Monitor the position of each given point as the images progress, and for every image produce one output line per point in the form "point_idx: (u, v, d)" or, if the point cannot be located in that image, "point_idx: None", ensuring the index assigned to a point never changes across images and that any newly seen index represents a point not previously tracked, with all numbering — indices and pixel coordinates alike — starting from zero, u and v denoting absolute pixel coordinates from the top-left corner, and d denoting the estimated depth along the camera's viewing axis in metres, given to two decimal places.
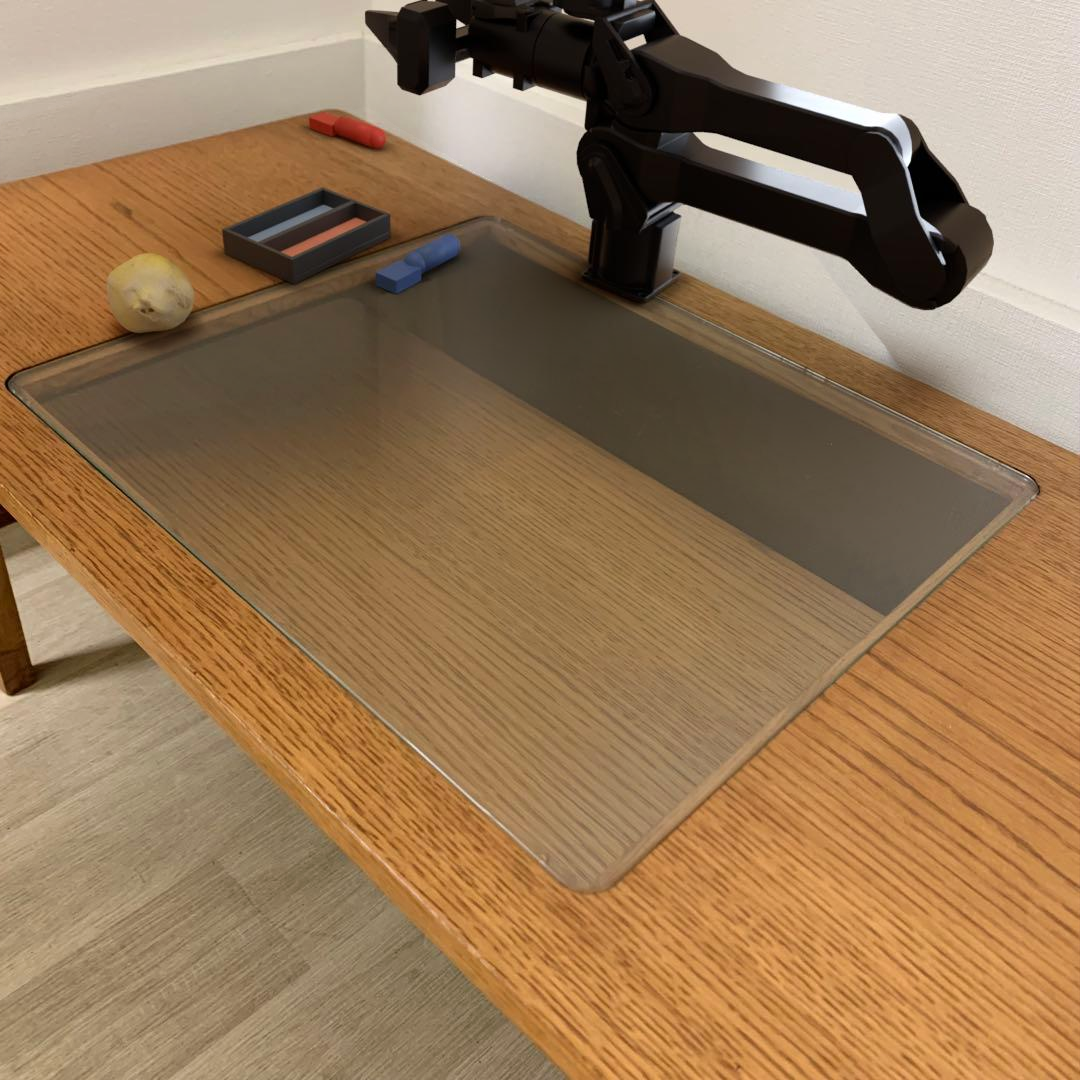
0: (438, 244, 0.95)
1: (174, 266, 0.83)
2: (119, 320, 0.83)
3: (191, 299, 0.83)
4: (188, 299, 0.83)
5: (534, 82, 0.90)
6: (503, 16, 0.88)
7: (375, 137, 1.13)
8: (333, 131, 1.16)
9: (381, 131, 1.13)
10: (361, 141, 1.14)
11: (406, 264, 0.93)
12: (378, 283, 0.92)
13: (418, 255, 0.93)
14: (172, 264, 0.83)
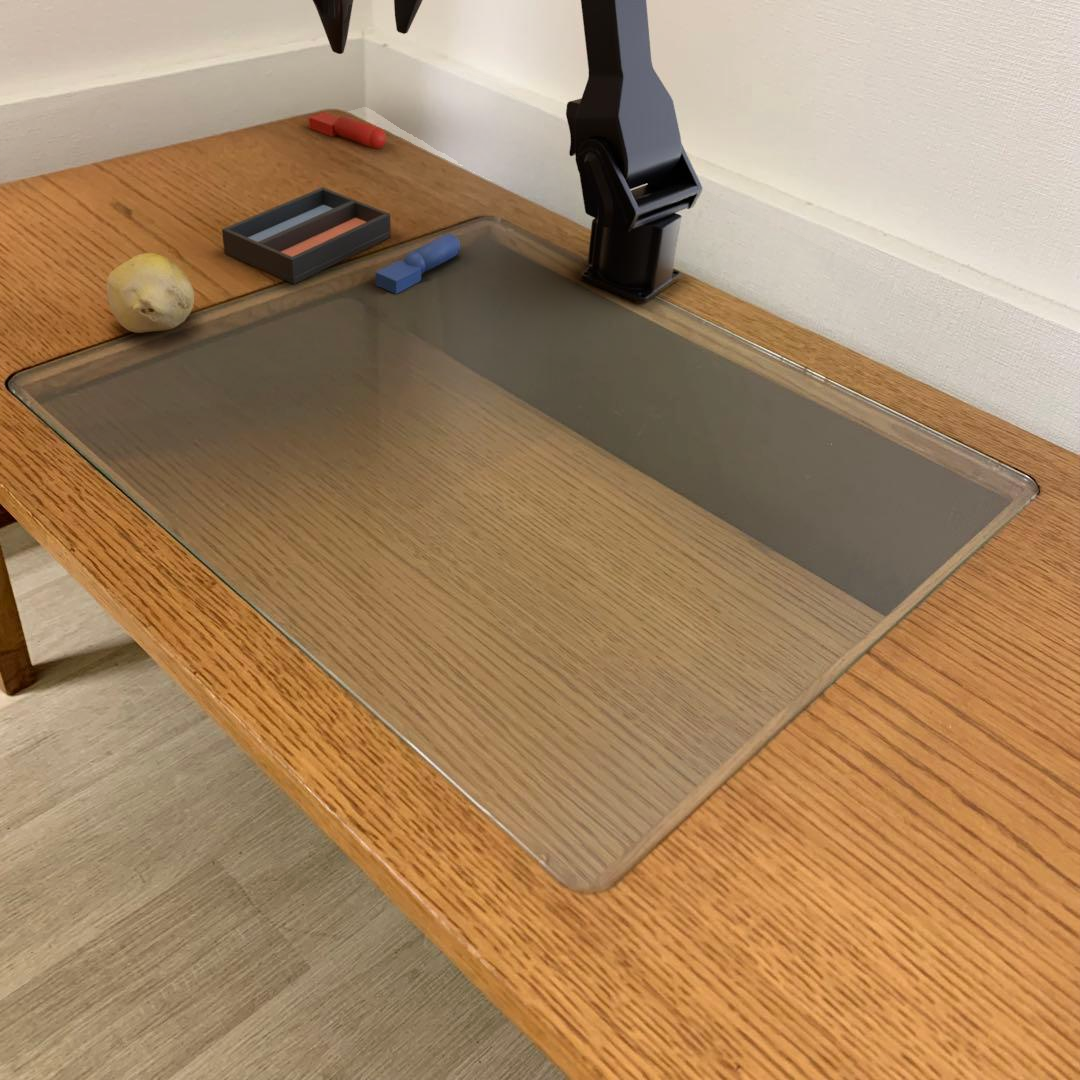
0: (438, 244, 0.95)
1: (174, 266, 0.83)
2: (119, 320, 0.83)
3: (191, 299, 0.83)
4: (188, 299, 0.83)
5: None
6: None
7: (375, 137, 1.13)
8: (333, 131, 1.16)
9: (381, 131, 1.13)
10: (361, 141, 1.14)
11: (406, 264, 0.93)
12: (378, 283, 0.92)
13: (418, 255, 0.93)
14: (172, 264, 0.83)
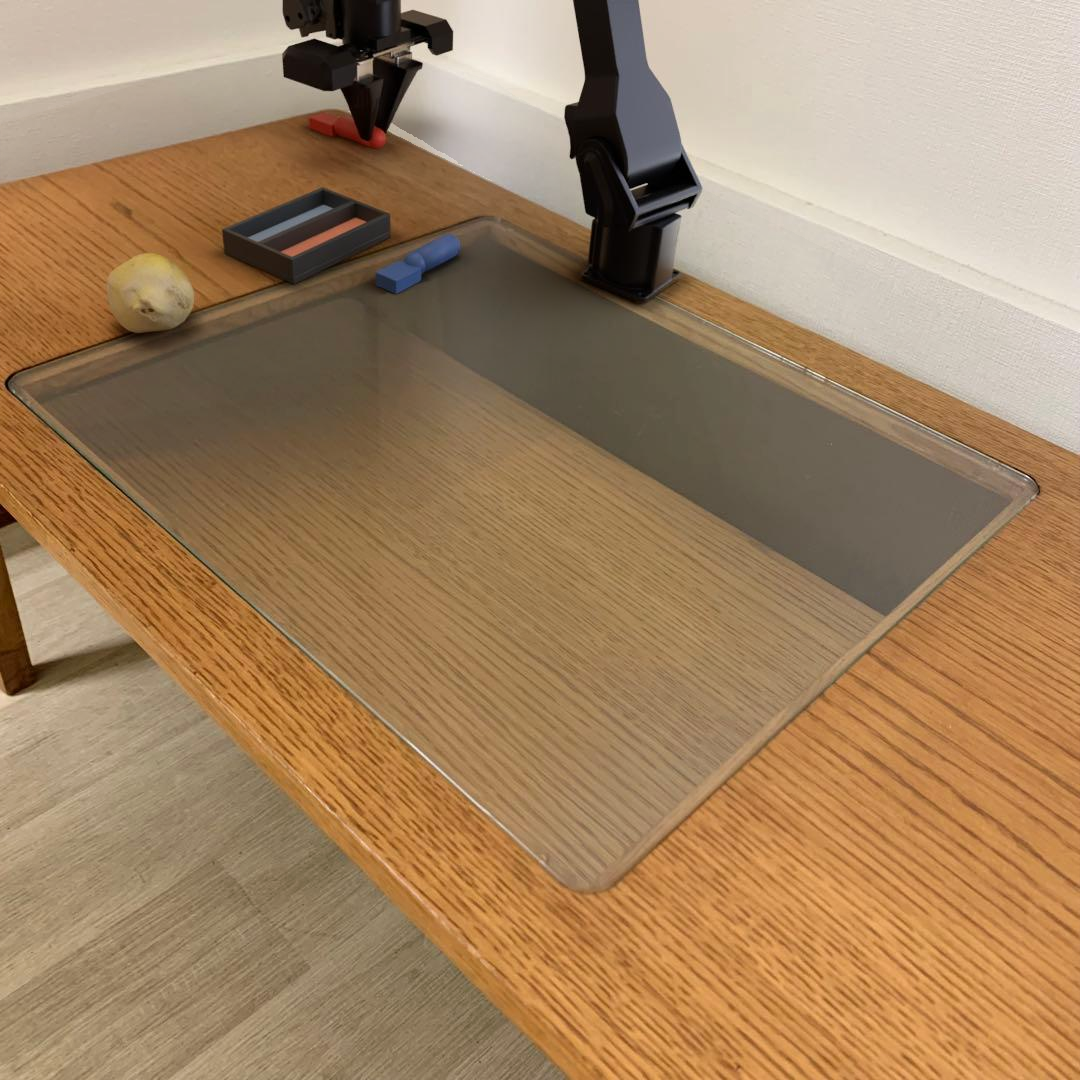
0: (438, 244, 0.95)
1: (174, 266, 0.83)
2: (119, 320, 0.83)
3: (191, 299, 0.83)
4: (188, 299, 0.83)
5: None
6: (331, 4, 1.05)
7: (375, 137, 1.13)
8: (333, 131, 1.16)
9: (380, 131, 1.13)
10: (361, 141, 1.14)
11: (406, 264, 0.93)
12: (378, 283, 0.92)
13: (418, 255, 0.93)
14: (172, 264, 0.83)
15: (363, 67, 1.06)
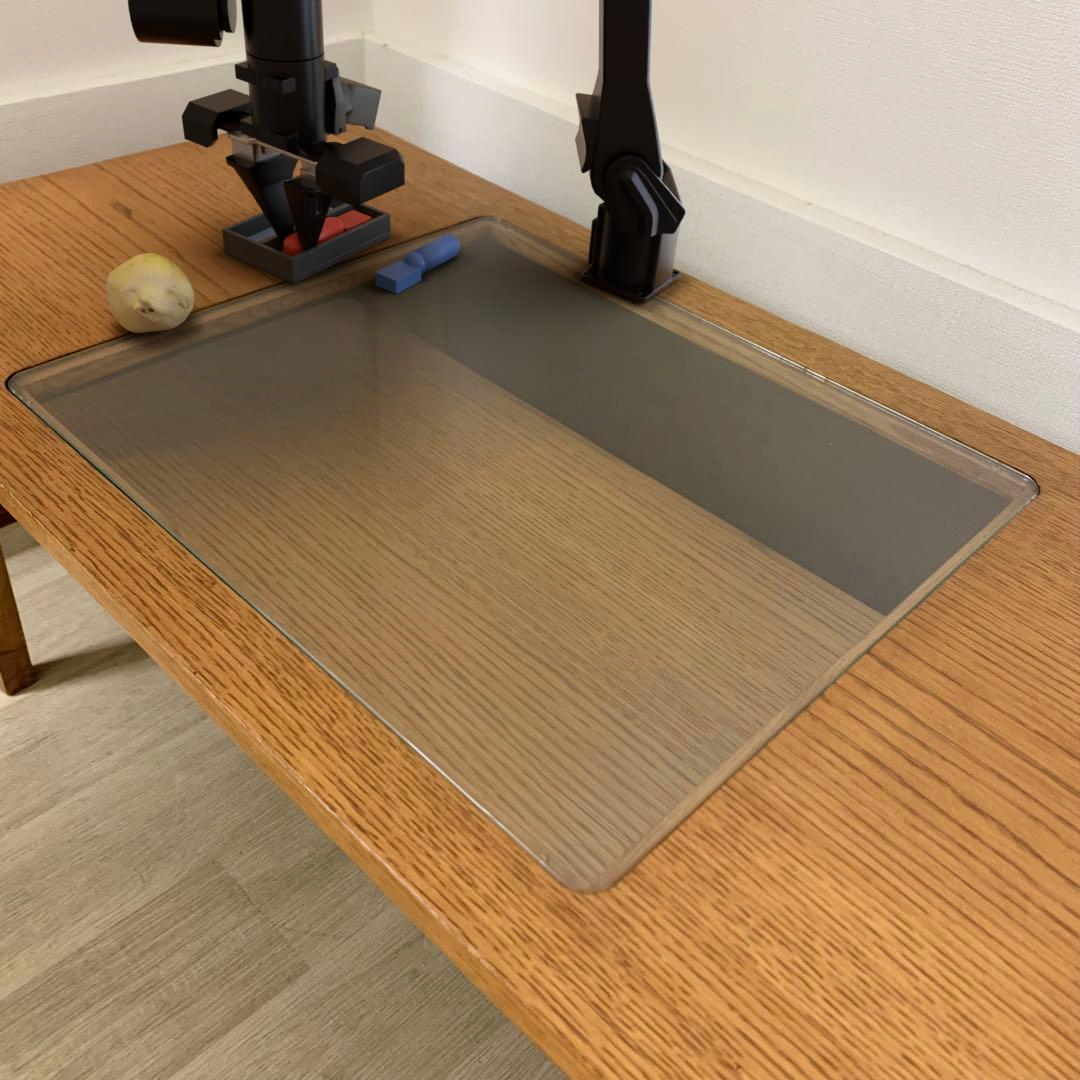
0: (438, 244, 0.95)
1: (174, 266, 0.83)
2: (119, 320, 0.83)
3: (191, 299, 0.83)
4: (188, 299, 0.83)
5: None
6: None
7: (284, 240, 0.93)
8: None
9: (290, 239, 0.92)
10: None
11: (406, 264, 0.93)
12: (378, 283, 0.92)
13: (418, 255, 0.93)
14: (172, 264, 0.83)
15: (238, 144, 0.88)
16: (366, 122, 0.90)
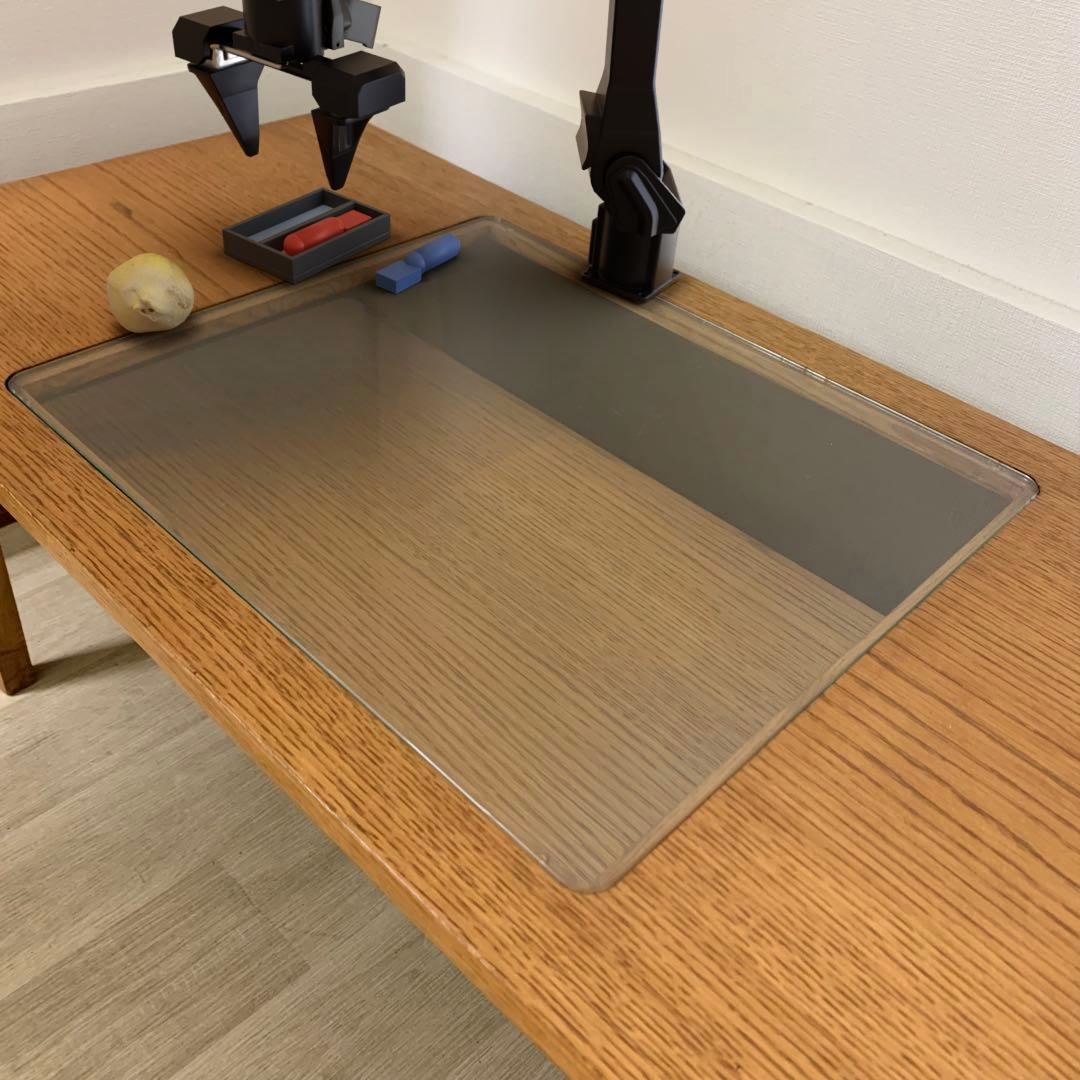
0: (438, 244, 0.95)
1: (174, 266, 0.83)
2: (119, 320, 0.83)
3: (191, 299, 0.83)
4: (188, 299, 0.83)
5: None
6: None
7: (284, 240, 0.93)
8: None
9: (290, 239, 0.92)
10: None
11: (406, 264, 0.93)
12: (378, 283, 0.92)
13: (418, 255, 0.93)
14: (172, 264, 0.83)
15: None
16: (365, 39, 0.86)
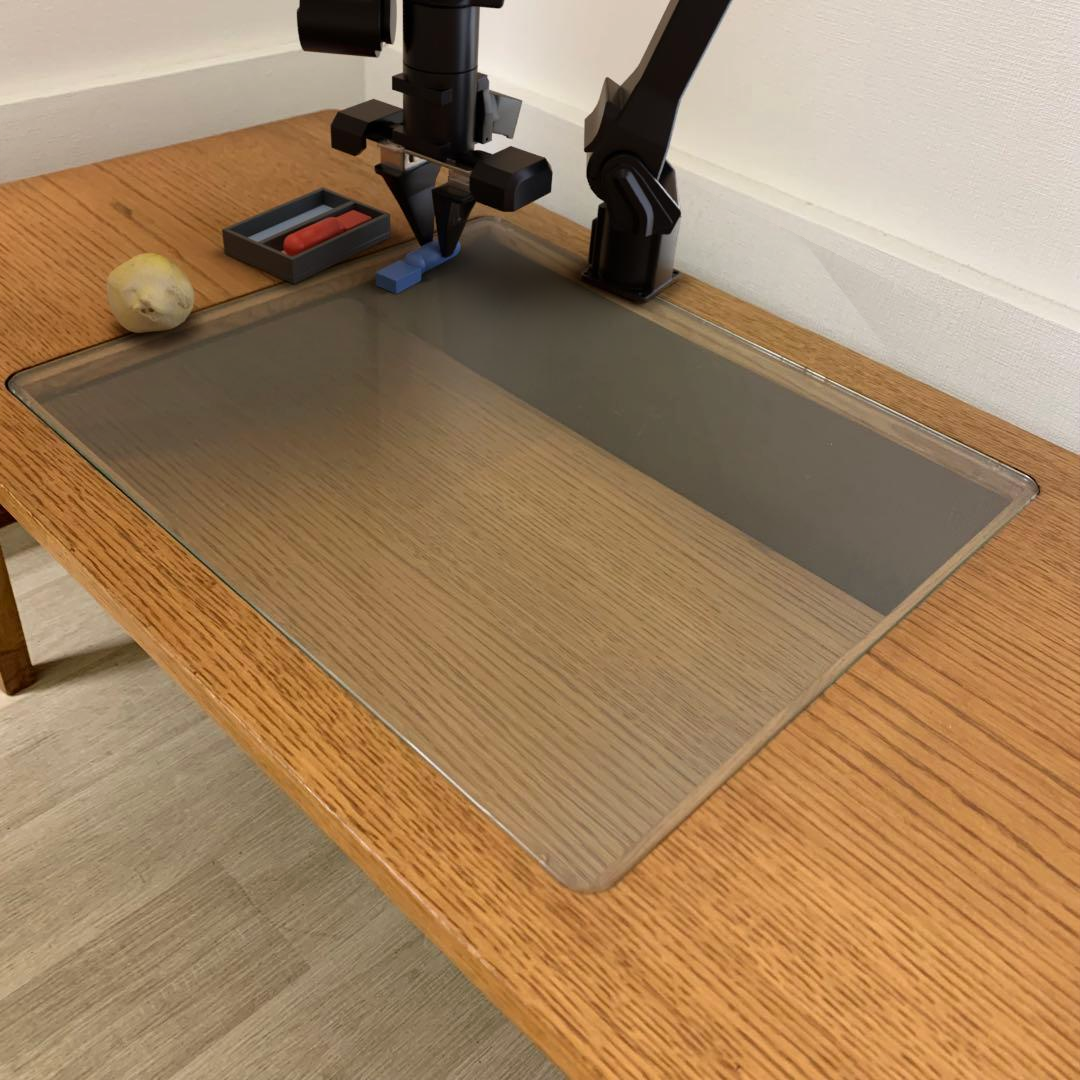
0: (438, 244, 0.95)
1: (174, 266, 0.83)
2: (119, 320, 0.83)
3: (191, 299, 0.83)
4: (188, 299, 0.83)
5: (403, 64, 0.85)
6: None
7: (284, 240, 0.93)
8: None
9: (290, 239, 0.92)
10: None
11: (406, 264, 0.93)
12: (378, 283, 0.92)
13: (418, 255, 0.93)
14: (172, 264, 0.83)
15: (388, 153, 0.91)
16: (508, 131, 0.93)
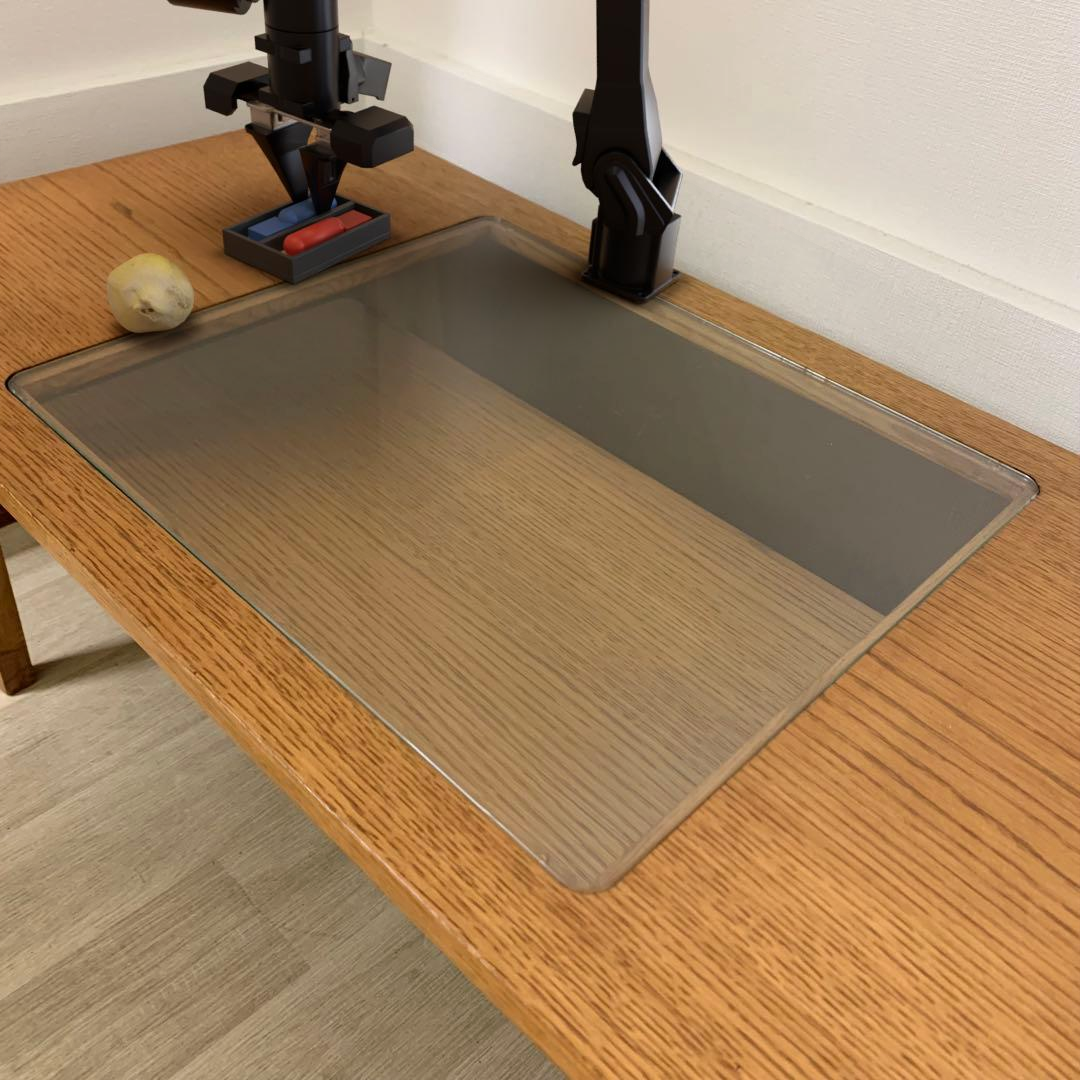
0: (312, 202, 0.98)
1: (174, 266, 0.83)
2: (119, 320, 0.83)
3: (191, 299, 0.83)
4: (188, 299, 0.83)
5: None
6: None
7: (284, 240, 0.93)
8: None
9: (290, 239, 0.92)
10: None
11: (279, 221, 0.96)
12: None
13: (291, 212, 0.96)
14: (172, 264, 0.83)
15: (257, 113, 0.93)
16: (377, 93, 0.96)
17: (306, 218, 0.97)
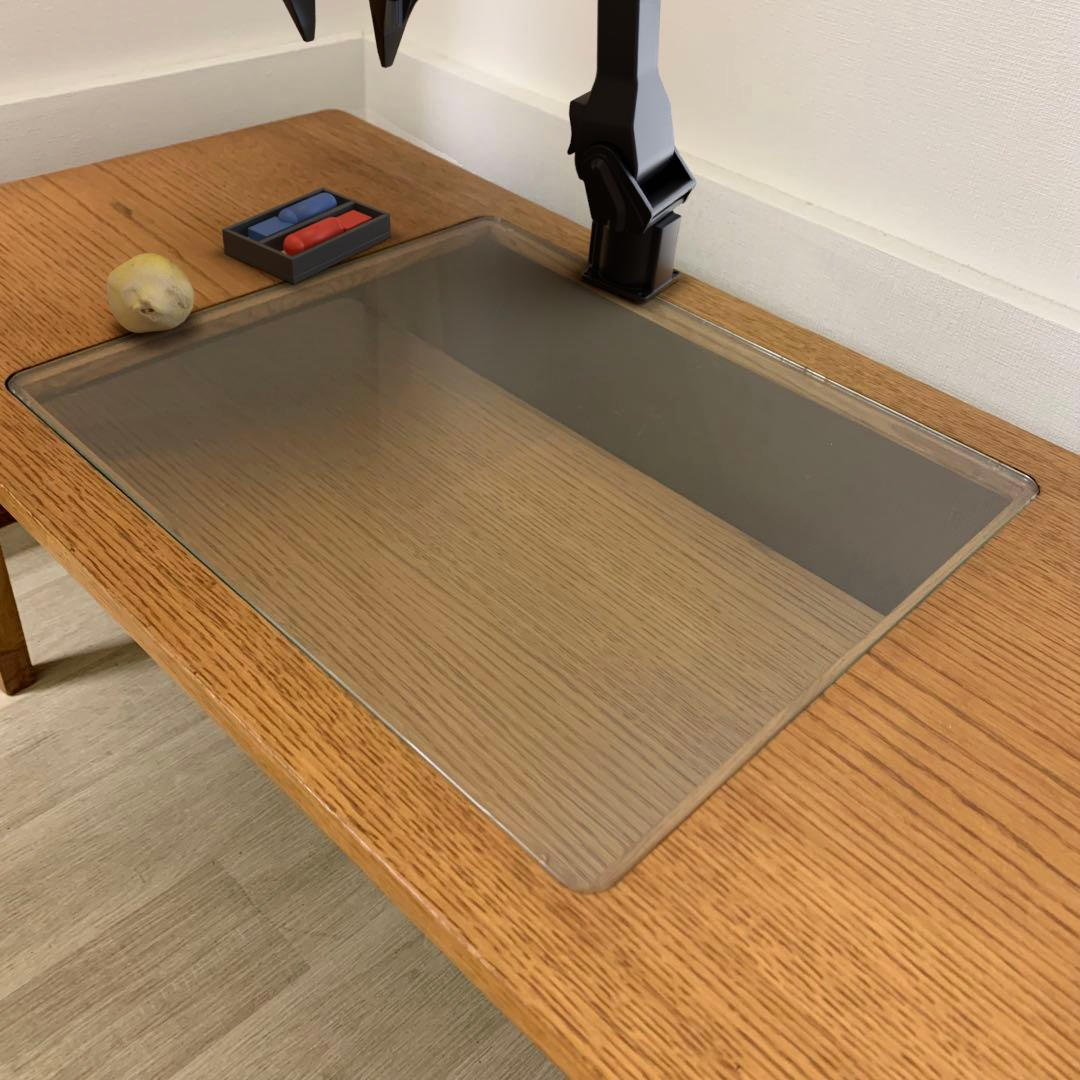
0: (312, 202, 0.98)
1: (174, 266, 0.83)
2: (119, 320, 0.83)
3: (191, 299, 0.83)
4: (188, 299, 0.83)
5: None
6: None
7: (284, 240, 0.93)
8: None
9: (290, 239, 0.92)
10: None
11: (279, 221, 0.96)
12: None
13: (291, 212, 0.96)
14: (172, 264, 0.83)
15: None
16: None
17: (306, 218, 0.97)
